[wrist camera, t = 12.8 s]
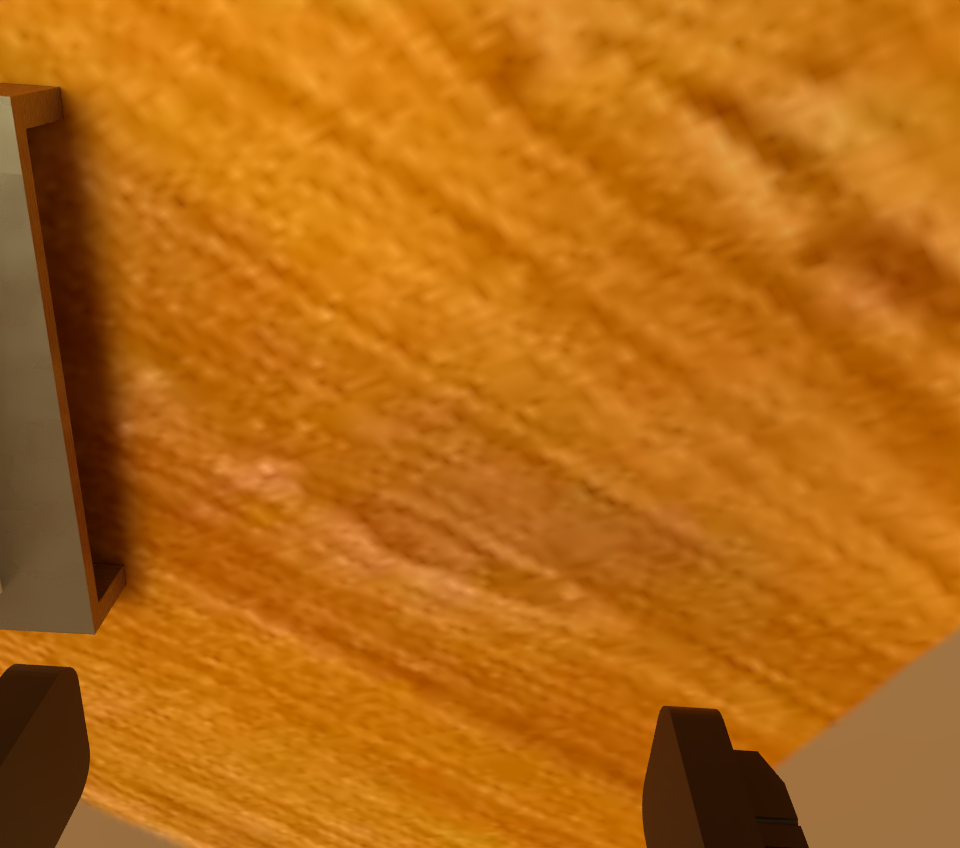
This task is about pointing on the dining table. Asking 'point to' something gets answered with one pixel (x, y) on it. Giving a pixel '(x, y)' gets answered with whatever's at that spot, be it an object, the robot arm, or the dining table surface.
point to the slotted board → (38, 412)
